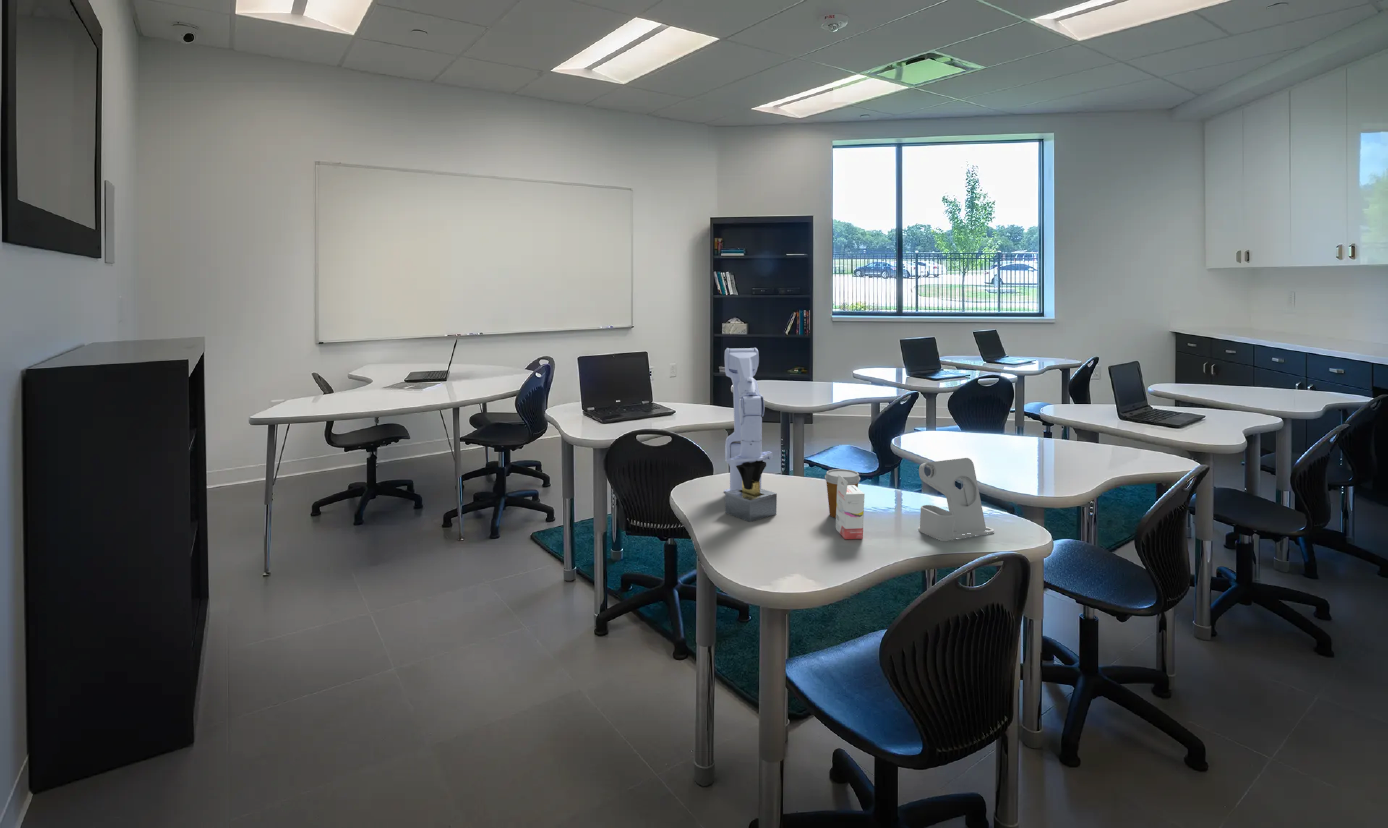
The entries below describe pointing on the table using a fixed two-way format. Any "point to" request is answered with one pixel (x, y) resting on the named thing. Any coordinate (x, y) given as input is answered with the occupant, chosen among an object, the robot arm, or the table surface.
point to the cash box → (750, 504)
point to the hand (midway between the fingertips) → (750, 488)
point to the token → (752, 489)
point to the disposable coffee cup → (832, 482)
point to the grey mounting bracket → (953, 501)
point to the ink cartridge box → (849, 510)
